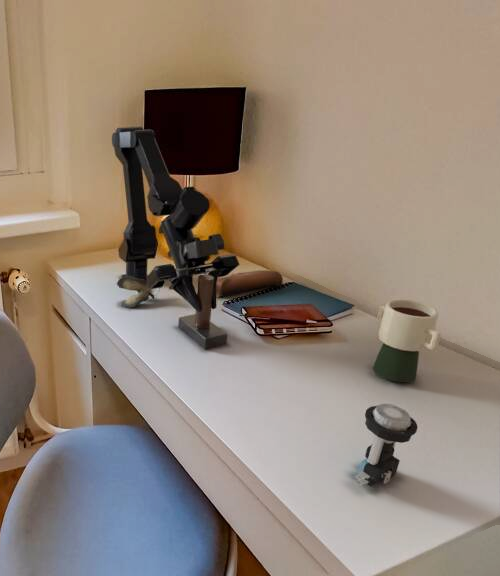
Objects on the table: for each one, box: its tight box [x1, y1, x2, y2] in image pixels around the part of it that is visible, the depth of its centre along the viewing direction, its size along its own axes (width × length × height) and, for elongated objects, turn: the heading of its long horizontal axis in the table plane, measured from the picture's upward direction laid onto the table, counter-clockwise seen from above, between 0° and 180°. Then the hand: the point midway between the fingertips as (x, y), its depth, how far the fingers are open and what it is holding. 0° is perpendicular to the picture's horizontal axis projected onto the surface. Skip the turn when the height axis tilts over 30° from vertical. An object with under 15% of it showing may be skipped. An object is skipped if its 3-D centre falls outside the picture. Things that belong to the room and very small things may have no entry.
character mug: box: [372, 299, 442, 383], centre depth 77 cm, size 11×7×13 cm, turn 14°
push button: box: [353, 403, 418, 487], centre depth 57 cm, size 7×5×10 cm
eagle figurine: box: [116, 276, 161, 308], centre depth 109 cm, size 8×7×9 cm
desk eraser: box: [177, 274, 228, 351], centre depth 92 cm, size 10×5×13 cm, turn 19°
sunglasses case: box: [216, 269, 284, 298], centre depth 115 cm, size 18×7×7 cm
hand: (207, 309), depth 90 cm, fingers closed on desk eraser, 3 cm apart
